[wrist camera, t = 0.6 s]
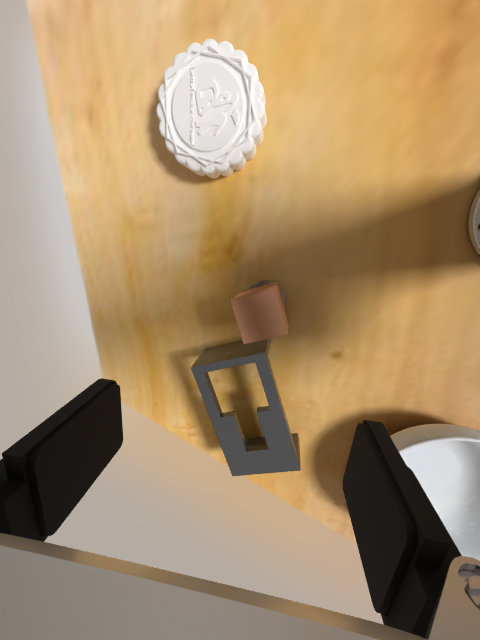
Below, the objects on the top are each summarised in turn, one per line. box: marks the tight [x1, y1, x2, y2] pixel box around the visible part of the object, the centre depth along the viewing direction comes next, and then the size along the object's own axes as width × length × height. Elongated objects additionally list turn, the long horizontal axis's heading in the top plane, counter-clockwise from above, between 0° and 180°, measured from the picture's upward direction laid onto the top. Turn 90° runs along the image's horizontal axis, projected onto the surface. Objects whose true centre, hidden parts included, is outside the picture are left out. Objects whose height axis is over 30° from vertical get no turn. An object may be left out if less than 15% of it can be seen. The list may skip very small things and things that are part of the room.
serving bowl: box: [390, 424, 480, 561], centre depth 36 cm, size 21×21×7 cm
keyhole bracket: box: [191, 338, 301, 476], centre depth 38 cm, size 18×10×6 cm, turn 17°
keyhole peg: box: [230, 281, 289, 344], centre depth 32 cm, size 5×5×8 cm
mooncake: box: [156, 39, 267, 179], centre depth 29 cm, size 12×12×4 cm
